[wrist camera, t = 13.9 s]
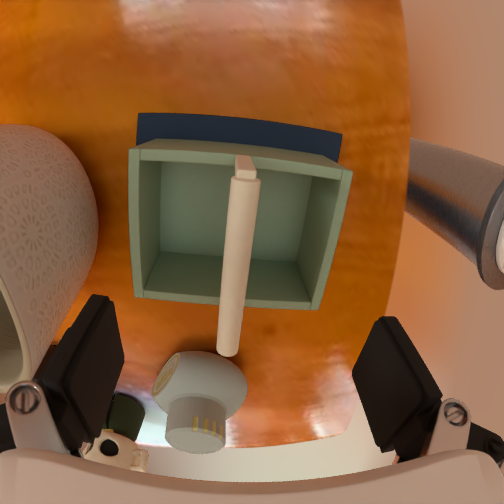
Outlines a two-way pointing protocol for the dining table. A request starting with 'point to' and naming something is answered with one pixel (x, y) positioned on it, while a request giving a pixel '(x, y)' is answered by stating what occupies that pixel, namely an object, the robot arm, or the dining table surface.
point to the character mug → (120, 437)
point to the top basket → (233, 226)
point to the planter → (40, 244)
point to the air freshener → (198, 399)
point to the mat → (238, 132)
